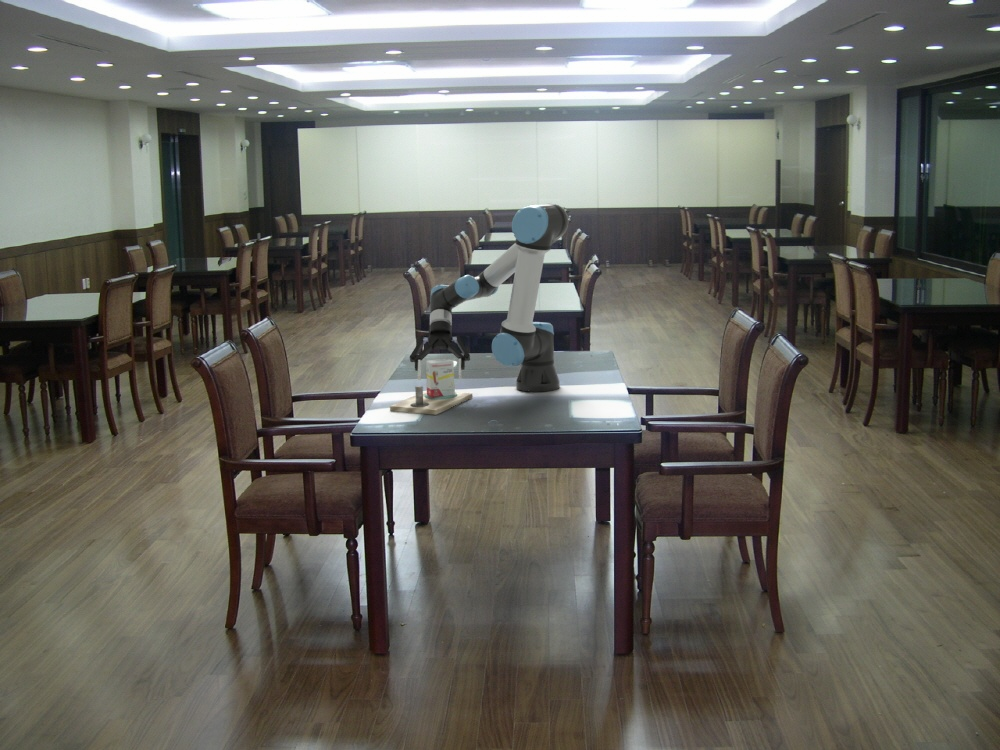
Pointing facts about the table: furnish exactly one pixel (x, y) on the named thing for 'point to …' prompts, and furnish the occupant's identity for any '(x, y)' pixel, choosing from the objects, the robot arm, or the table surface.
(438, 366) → the ink box
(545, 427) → the table surface
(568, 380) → the table surface
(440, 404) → the board
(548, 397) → the table surface
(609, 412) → the table surface
